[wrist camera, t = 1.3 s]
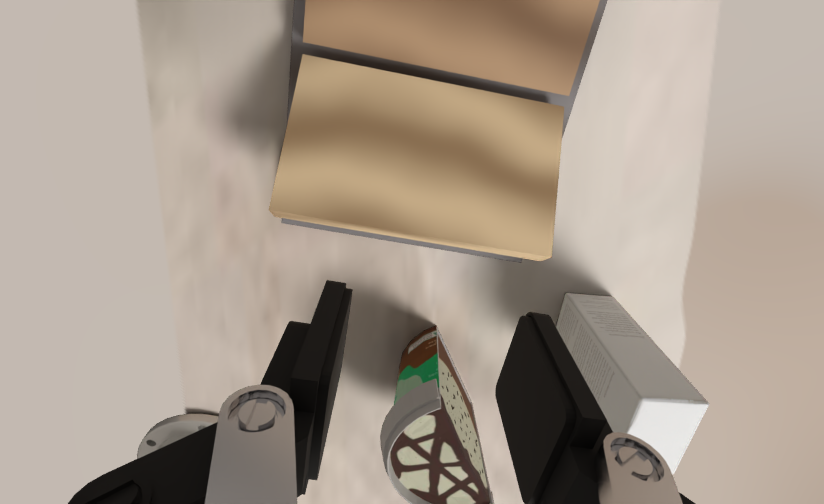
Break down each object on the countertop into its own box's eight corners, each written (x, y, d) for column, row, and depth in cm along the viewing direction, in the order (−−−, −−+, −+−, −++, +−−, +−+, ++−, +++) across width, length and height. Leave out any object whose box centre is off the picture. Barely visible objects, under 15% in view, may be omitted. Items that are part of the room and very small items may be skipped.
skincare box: (595, 353, 36) (674, 478, 26) (547, 349, 36) (607, 474, 25) (616, 293, 34) (714, 404, 23) (564, 289, 34) (639, 399, 23)
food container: (362, 335, 35) (346, 429, 26) (430, 311, 34) (437, 401, 25) (416, 431, 40) (419, 539, 31) (477, 413, 39) (497, 519, 30)
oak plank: (540, 261, 25) (551, 257, 24) (274, 216, 24) (268, 209, 22) (553, 118, 27) (564, 106, 26) (306, 69, 26) (302, 54, 24)
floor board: (517, 256, 32) (526, 271, 30) (285, 218, 31) (275, 230, 29) (616, -49, 24) (638, -60, 22) (305, -122, 23) (294, -142, 20)
